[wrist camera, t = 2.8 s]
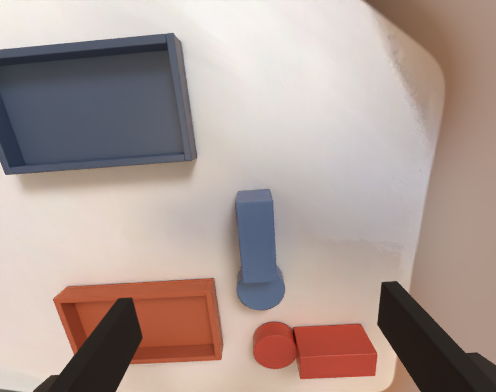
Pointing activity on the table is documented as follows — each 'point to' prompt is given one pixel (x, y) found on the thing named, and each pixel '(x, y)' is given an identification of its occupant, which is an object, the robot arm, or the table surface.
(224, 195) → the table surface
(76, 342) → the red tray
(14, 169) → the blue tray
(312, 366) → the red spoon
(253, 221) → the blue spoon
